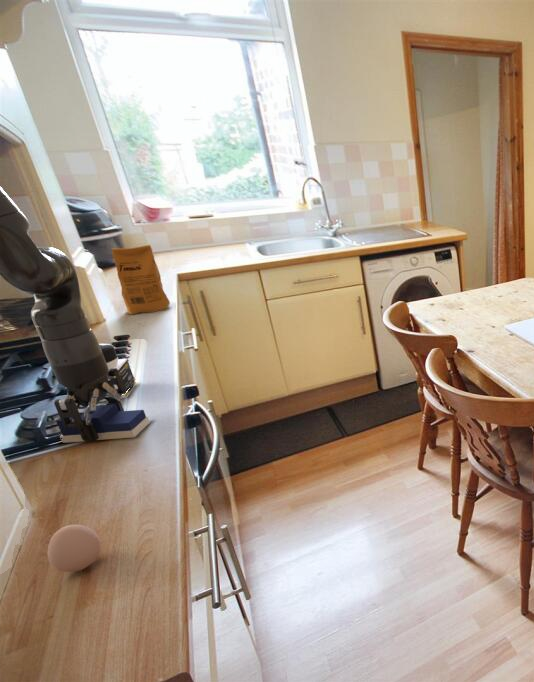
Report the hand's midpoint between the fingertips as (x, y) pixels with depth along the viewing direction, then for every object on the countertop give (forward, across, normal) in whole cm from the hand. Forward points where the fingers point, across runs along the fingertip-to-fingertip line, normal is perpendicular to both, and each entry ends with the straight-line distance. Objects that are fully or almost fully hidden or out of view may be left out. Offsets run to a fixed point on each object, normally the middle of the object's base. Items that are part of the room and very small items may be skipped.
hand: (106, 428), depth 94 cm
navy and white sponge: (+1, 0, 0) cm, 1 cm away
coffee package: (+1, +81, +36) cm, 89 cm away
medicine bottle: (+1, +17, +9) cm, 19 cm away
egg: (+1, -35, -18) cm, 39 cm away
